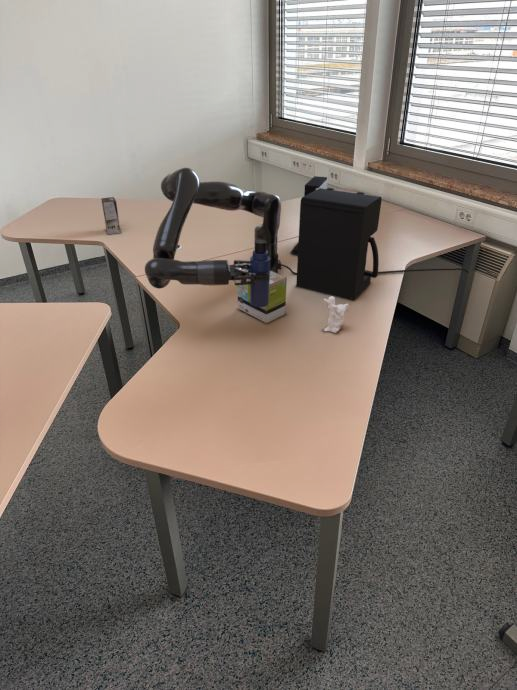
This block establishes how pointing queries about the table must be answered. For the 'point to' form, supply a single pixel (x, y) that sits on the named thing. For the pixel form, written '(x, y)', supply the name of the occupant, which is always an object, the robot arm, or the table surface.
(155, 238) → the robot arm
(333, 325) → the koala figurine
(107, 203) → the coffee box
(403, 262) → the table surface
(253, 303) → the water bottle
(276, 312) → the tea box
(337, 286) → the coffee maker
